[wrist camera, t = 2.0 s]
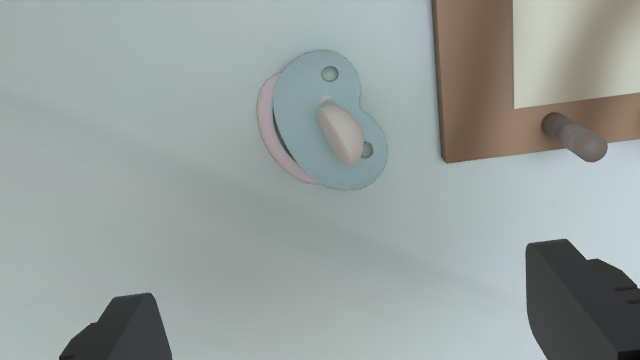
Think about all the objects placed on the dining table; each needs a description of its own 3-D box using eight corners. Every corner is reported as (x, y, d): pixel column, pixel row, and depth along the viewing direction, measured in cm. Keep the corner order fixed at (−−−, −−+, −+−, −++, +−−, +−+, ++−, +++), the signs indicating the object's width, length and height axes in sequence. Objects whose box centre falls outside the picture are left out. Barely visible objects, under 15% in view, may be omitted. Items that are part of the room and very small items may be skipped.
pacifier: (297, 198, 31) (395, 157, 30) (287, 252, 25) (409, 202, 24) (235, 81, 28) (340, 32, 27) (209, 110, 23) (340, 48, 22)
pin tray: (441, 156, 29) (467, 194, 24) (423, -134, 25) (450, -165, 19) (744, 117, 29) (839, 148, 23) (786, -191, 24) (917, -238, 19)
